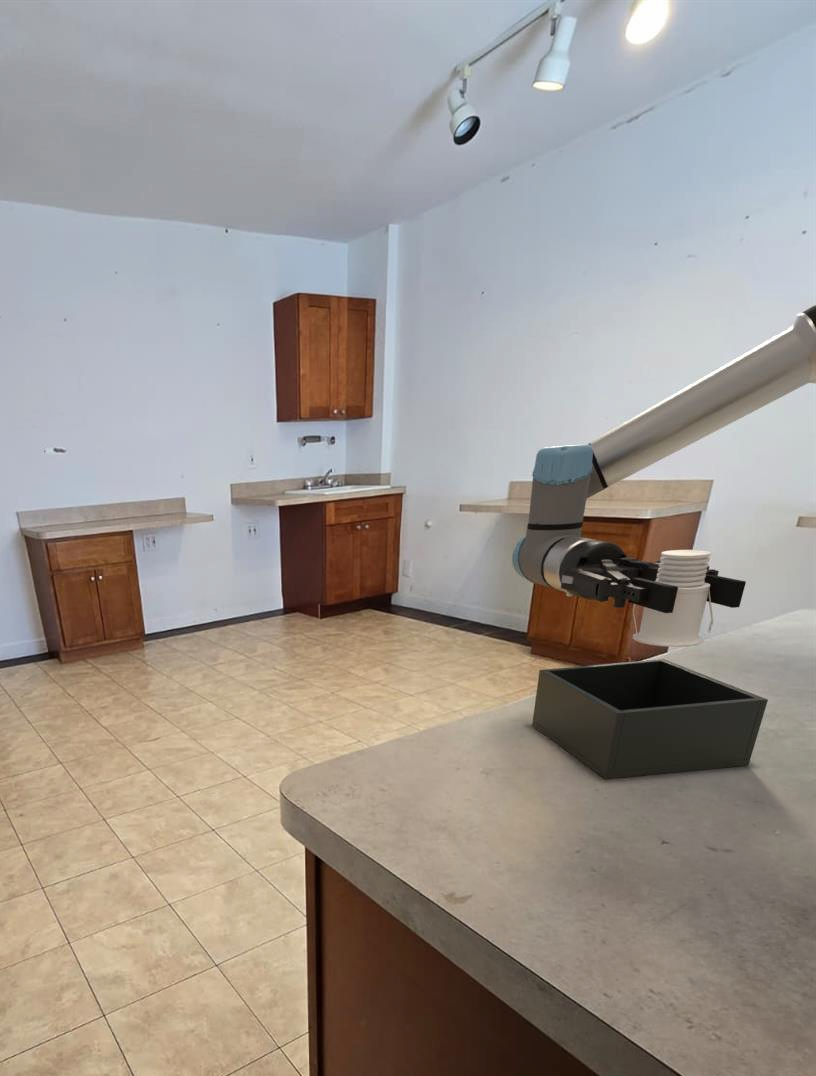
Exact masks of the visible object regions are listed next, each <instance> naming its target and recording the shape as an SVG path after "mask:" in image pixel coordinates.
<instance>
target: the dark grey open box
mask: <svg viewBox="0 0 816 1076" xmlns="http://www.w3.org/2000/svg"><path fill="white" fill-rule="evenodd" d="M768 703H769V699H768V698H765V697H762V696H760V695H757V694H755V693H752V692H750V691H747V690H744V689H741V688H739V687H736V686H734V685H732V684H729V683H726V682H724V681H721V680H718V679H716V678H713V677H711V676H708V675H706V674H703V673H700V672H698V671H696V670H692V669H691V668H689V667H688V668H687V667H685V666H682V665H681V664H677V663H675V662H672V661H671V660H668V659H665V658H659V659H648V660H647V659H645V660H638V661H637V660H636V661H626V662H625V661H624V662H614V663H604V664H603V663H601V664H590V665H581V666H570V667H558V668H549V669H547V668H546V669H539V672H538V679H537V685H536V694H535V701H534V709H533V716H532V722H531V726H532V727H533V728H534V729H536V730H537V731H538V732H540V733H541V734H542V735H544V736H545V737H547V738H548V739H549V740H551V741H552V742H553V743H555V744H556V745H557V746H559V747H560V748H561V749H563V750H564V751H566V752H567V753H569V754H570V755H571V756H573V757H574V758H575V759H577V760H578V761H579V762H581V763H582V764H584V765H585V766H586V767H587V768H589V769H590V770H592V771H593V772H594V773H596V774H597V775H599V776H600V777H601V778H603V779H604V780H610V779H611V780H612V779H622V778H632V777H641V776H651V775H652V776H653V775H661V774H662V775H663V774H671V773H672V774H673V773H682V772H683V773H684V772H694V771H704V770H712V769H714V770H715V769H724V768H725V769H726V768H734V767H743V766H749V765H750V762H751V758H752V756H753V751H754V749H755V745H756V741H757V739H758V735H759V731H760V728H761V725H762V722H763V718H764V715H765V712H766V709H767V705H768Z"/></svg>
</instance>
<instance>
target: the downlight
mask: <svg viewBox="0 0 816 1076" xmlns="http://www.w3.org/2000/svg"><path fill="white" fill-rule="evenodd" d="M660 556H661V557H660V558H659V561H661V563H659V567H660V568H658V572H659V573H657V579H656V581H655V582H659V583H663V584H668V585H672V586H676V587H678V591H677V595H676V600H675V604H674V609H673V613H663V612H660V611H656V610H653V609H650V608H646V607H643V611H642V617H641V621H640V626H639V630H638V628H637V621H636V616H635V609H636V606H637V605H636V604H633V607H632V616H633V622H634V628H635V633H633V634H632V640H634V641H635V642H638V643H641V644H645V645H649V646H650V645H651V646H656V647H667V648H685V647H686V648H688V647H695V646H700V645H701V644H703V643H704V638H703V637H702V636H700V635H699V633H700V630H701V626H702V621H703V618H704V613H705V609H706V605H707V597H708V596H709V601H710V602H708V606H709V615H710V621H709V626H708V629H707V632H708V633H709V634H711V631H712V627H713V625H714V615H713V606H712V603H711V599H710V591H709V589H710V584H708V583H705V582H704V581H705V580H704V578H705V577H706V574H704V573H706V572H707V569H706V568H707V567H708V566H709V562H710V559H711V558H710V557H711V556H712V552H711V551H708V550H700V549H673V550H672V549H671V550H665V551H661V553H660ZM638 631H639V632H638Z"/></svg>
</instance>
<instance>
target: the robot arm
mask: <svg viewBox="0 0 816 1076" xmlns="http://www.w3.org/2000/svg"><path fill="white" fill-rule="evenodd" d="M808 384H816V304H814V305H813V306H810V307H809V308H807V309H806V310H804V311H801V312H800V313H798V314H797V315H796V316H795V318H794V320H793V321H792V324H791V326H790V327H788V329H786V330H784V331H783V332H781V333H778V334H777V335H775V336H773V337H772V338H770V339H768V340H766V341H765V342H763V343H762V344H760V345H758V346H757V347H754V348H753V349H750V350H749V351H748V352H746V353H744V354H743V355H741V356H739V357H737V358H736V359H733V360H732V361H730V362H728V363H727V364H725V365H723V366H721V367H720V368H718V369H716V370H714V371H712V372H710V373H709V374H707V375H705V376H704V377H702V378H700V379H699V380H697V381H695V382H693V383H692V384H690V385H687V386H686V387H684V388H683V389H681V390H679V391H677V392H675V393H674V394H672V395H671V396H669V397H667V398H666V399H664V400H662V401H660V402H658V403H656V404H655V405H652V407H650V408H648V409H646V410H644V411H643V412H641V413H639V414H637V415H635V416H634V417H632V418H630V419H629V420H627V421H625V422H624V423H622V424H620V425H618V426H616V427H615V428H613V429H611V430H609V431H608V432H606V433H604V434H602V435H600V436H598V437H597V438H595V439H593V440H591V441H590V442H588V444H587V443H585V444H584V443H583V444H571V445H557V446H545V447H542V448H540V449H539V450H538V451H537V453H536V456H535V461H534V467H533V471H532V474H531V475H532V482H531V485H532V486H531V493H530V502H529V503H530V504H529V511H528V513H529V514H528V521H527V522H528V523H527V525H526V530H525V531H526V533H525V535H523V536H522V537H521V538H520V539H519V540H518V542H517V544H516V545H515V547H514V549H513V552H512V554H511V561H512V562H511V563H512V566H513V568H514V571H515V572H516V573H517V574H518V576H519V577H521V578H523V579H525V580H527V581H528V582H529V583H532V584H533V583H534V584H535V585H540V586H544V587H548V588H552V589H555V590H558V591H562V592H564V593H565V595H566V597H572V596H575V597H578V598H582V599H584V600H589V601H597V602H599V603H605V602H608V601H609V598H611V599H612V600H614V601H613V608H619V609H621V608H626V603H627V600H628V603H629V604H633V605H634V604H636V605H635V606H640V607H643V608H644V607H646V608H650V609H653V610H656V611H660V612H663V613H673V609H674V604H675V600H676V595H677V591H678V587H676V586H672V585H668V584H663V583H659V582H655V581H656V579H657V573H659V572H658V568H660V567H659V563H661V561H660V560H657V561H655V563H654V562H652V561H642V560H636V558H632V557H627V555H626V553H625V551H624V550H623V549H622V547H621V546H619V545H618V544H616V543H613V542H611V541H610V542H609V541H604V540H598V539H593V538H587V537H582V530H583V525H584V517H585V516H584V515H585V510H586V504H587V499H589V498H591V497H593V496H594V495H597V494H598V493H600V492H602V491H604V490H606V489H607V488H609V487H611V486H613V485H615V484H617V483H619V482H621V481H624V479H626V478H629V477H631V476H633V475H634V474H636V473H638V472H640V471H642V470H644V469H646V468H648V467H650V466H651V465H653V464H654V465H655V463H657V462H660V461H661V460H663V459H665V458H667V457H669V456H671V455H673V454H675V453H677V452H678V451H680V450H683V449H685V448H686V447H688V446H690V445H692V444H694V443H696V442H698V441H700V440H701V439H703V438H705V437H707V436H709V435H711V434H713V433H715V432H717V431H719V430H720V429H723V428H725V427H727V426H728V425H731V424H732V423H734V422H736V421H739V420H740V419H742V418H744V417H746V416H747V415H750V414H752V413H754V412H756V411H757V410H760V409H761V408H764V407H765V406H768V405H769V404H771V403H773V402H774V401H777V400H778V399H780V398H783V397H785V396H786V395H788V394H790V393H793V392H794V391H796V390H798V389H800V388H802V387H803V386H806V385H808ZM706 569H707V572H706V573H704V574H706V577H705V578H704V580H705V581H704V582H705V583H708V584H710V589H709V591H710V599H711V604H716V605H720V606H724V607H726V608H727V607H728V608H733V609H735V608H740V606H741V603H742V599H743V594H744V591H745V588H746V587H745V586H746V583H747V581H746V580H741V579H737V578H736V579H735V578H730V577H725V576H721V575H719V573H720V571H719V570H716V569H710V566H709V565H708V567H707V568H706ZM707 602H708V603H709V602H710V601H709V596H708V597H707V601H706V603H707Z"/></svg>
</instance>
